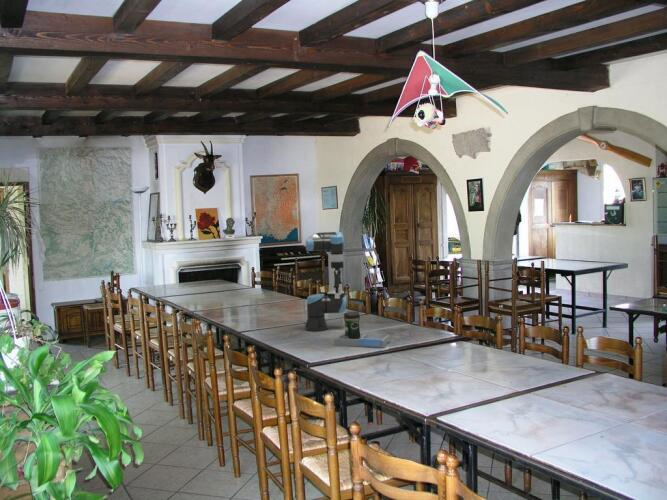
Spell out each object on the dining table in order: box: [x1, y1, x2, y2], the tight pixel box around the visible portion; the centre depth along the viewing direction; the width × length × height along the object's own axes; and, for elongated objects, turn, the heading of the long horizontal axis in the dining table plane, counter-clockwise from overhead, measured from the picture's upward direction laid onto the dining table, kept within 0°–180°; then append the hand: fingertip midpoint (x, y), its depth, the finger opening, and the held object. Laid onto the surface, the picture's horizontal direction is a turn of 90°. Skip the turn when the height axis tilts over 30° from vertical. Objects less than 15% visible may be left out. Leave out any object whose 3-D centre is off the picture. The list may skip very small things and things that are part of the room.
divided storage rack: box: [333, 332, 391, 349], centre depth 389 cm, size 18×30×5 cm, turn 71°
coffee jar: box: [343, 310, 362, 339], centre depth 393 cm, size 10×8×19 cm
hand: (338, 296), depth 389 cm, fingers open, 13 cm apart
